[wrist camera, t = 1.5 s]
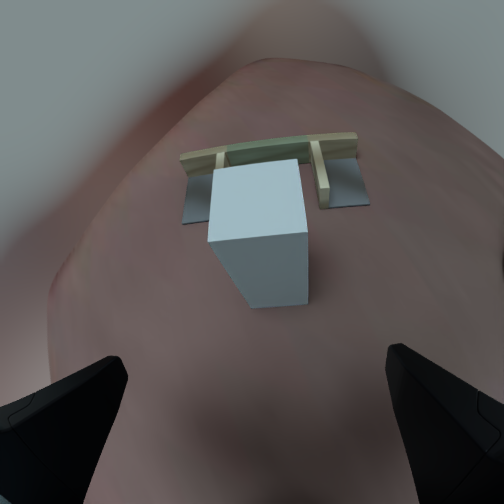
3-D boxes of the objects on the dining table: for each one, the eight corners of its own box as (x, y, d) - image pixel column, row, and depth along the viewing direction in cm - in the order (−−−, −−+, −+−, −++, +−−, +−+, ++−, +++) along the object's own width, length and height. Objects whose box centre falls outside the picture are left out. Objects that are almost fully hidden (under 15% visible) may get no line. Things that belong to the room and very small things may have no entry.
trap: (369, 205, 25) (374, 184, 22) (182, 224, 28) (170, 207, 25) (353, 153, 28) (355, 132, 26) (190, 172, 31) (180, 153, 28)
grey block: (308, 304, 22) (307, 231, 12) (251, 308, 23) (207, 241, 13) (303, 252, 24) (297, 158, 14) (250, 257, 25) (213, 169, 15)
